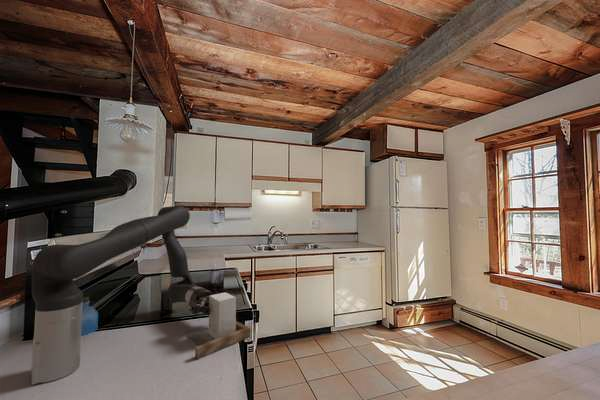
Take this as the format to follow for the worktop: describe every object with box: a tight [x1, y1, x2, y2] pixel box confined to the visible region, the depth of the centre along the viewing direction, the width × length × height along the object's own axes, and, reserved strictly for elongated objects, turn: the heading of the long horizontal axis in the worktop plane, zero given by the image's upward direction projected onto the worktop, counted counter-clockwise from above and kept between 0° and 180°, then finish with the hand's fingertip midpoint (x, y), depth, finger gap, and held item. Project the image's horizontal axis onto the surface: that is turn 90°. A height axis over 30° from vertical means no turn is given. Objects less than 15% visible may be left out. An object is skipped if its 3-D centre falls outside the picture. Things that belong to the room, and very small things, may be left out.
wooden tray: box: [186, 320, 252, 360], centre depth 86 cm, size 18×16×3 cm
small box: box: [208, 292, 237, 339], centre depth 88 cm, size 8×6×13 cm
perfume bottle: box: [81, 296, 99, 337], centre depth 90 cm, size 6×6×12 cm
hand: (220, 308), depth 88 cm, fingers open, 8 cm apart
